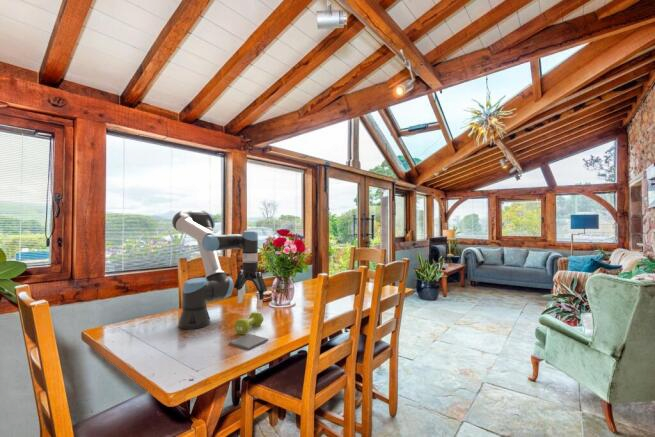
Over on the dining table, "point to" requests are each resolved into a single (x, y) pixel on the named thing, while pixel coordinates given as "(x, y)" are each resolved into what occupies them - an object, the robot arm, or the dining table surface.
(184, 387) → the dining table surface
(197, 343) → the dining table surface
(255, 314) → the dumbbell
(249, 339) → the trivet
